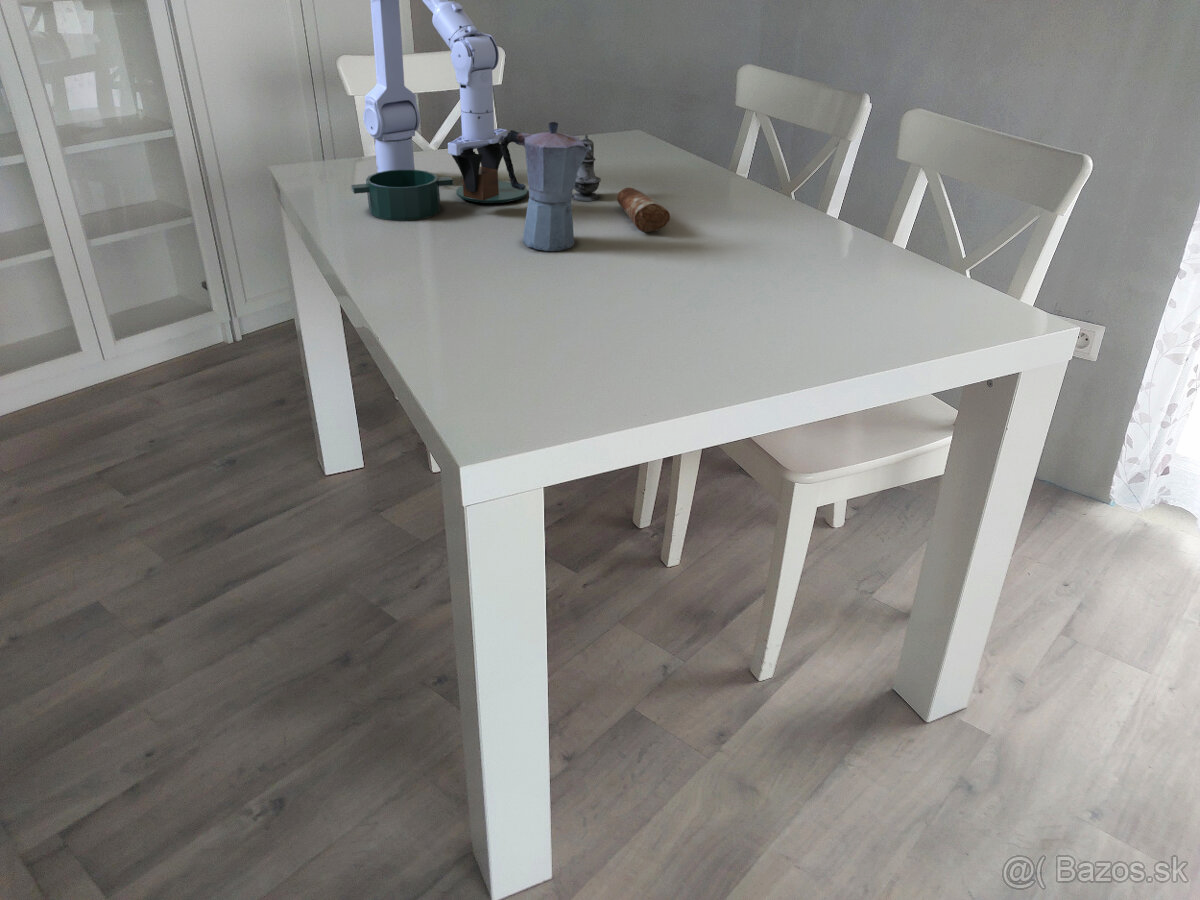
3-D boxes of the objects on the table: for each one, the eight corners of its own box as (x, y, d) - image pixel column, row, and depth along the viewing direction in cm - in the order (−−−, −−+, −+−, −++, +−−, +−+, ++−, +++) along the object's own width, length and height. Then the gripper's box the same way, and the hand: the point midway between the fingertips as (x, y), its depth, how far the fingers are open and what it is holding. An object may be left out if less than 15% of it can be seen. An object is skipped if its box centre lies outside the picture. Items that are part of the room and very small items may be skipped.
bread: (635, 237, 162) (636, 205, 160) (612, 206, 179) (613, 176, 176) (670, 235, 164) (672, 203, 161) (644, 204, 180) (645, 175, 177)
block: (463, 196, 171) (462, 171, 169) (479, 190, 175) (478, 165, 172) (483, 200, 169) (482, 175, 167) (498, 194, 172) (497, 169, 170)
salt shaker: (600, 201, 181) (601, 138, 175) (569, 201, 181) (570, 137, 175) (600, 193, 186) (602, 131, 180) (571, 192, 186) (571, 130, 180)
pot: (349, 205, 176) (345, 173, 172) (444, 196, 182) (442, 166, 179) (362, 225, 165) (358, 191, 162) (462, 215, 172) (460, 182, 169)
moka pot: (584, 256, 153) (585, 130, 143) (494, 249, 156) (489, 124, 146) (596, 238, 161) (598, 118, 151) (510, 231, 164) (506, 112, 154)
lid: (448, 189, 186) (447, 167, 184) (514, 183, 191) (513, 162, 188) (467, 208, 175) (466, 185, 173) (537, 202, 180) (536, 179, 178)
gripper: (468, 120, 157) (472, 200, 164) (520, 106, 168) (521, 182, 175) (436, 114, 160) (441, 193, 167) (488, 101, 171) (491, 176, 178)
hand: (480, 187), depth 171 cm, fingers closed on block, 4 cm apart
